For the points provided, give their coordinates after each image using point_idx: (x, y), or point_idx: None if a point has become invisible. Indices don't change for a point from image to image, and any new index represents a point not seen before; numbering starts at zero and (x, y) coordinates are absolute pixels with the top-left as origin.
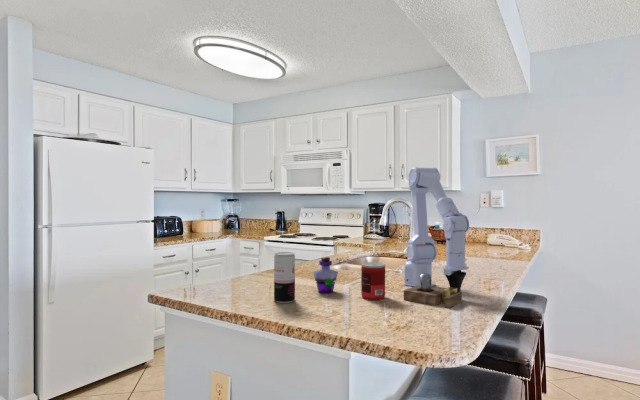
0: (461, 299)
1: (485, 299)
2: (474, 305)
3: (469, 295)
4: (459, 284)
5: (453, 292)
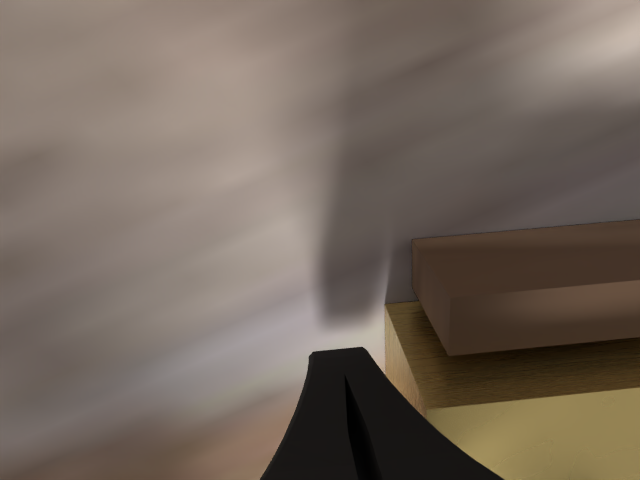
0: (430, 250)
1: (23, 54)
2: (492, 32)
3: (8, 314)
4: (411, 432)
5: (569, 363)
